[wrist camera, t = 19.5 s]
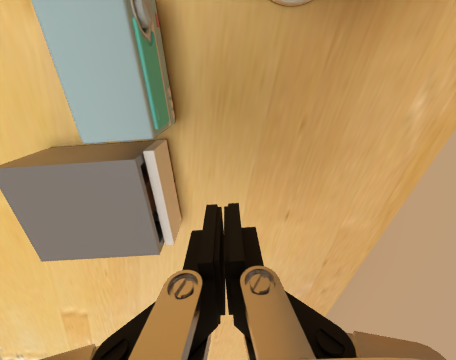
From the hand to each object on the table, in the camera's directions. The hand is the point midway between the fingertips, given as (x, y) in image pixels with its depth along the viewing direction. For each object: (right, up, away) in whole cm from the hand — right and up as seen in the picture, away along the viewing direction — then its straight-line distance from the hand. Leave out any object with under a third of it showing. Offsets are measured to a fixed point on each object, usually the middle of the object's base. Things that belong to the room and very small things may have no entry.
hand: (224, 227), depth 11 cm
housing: (-20, +2, +27) cm, 33 cm away
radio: (-12, +19, +19) cm, 29 cm away
